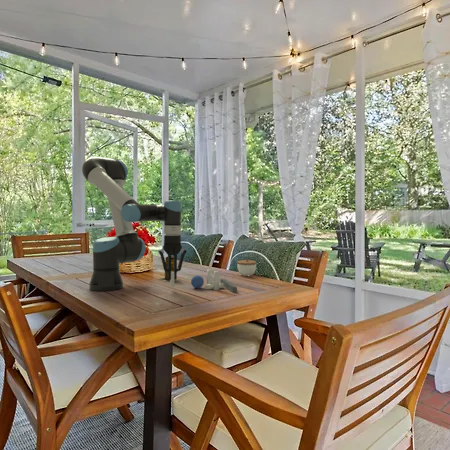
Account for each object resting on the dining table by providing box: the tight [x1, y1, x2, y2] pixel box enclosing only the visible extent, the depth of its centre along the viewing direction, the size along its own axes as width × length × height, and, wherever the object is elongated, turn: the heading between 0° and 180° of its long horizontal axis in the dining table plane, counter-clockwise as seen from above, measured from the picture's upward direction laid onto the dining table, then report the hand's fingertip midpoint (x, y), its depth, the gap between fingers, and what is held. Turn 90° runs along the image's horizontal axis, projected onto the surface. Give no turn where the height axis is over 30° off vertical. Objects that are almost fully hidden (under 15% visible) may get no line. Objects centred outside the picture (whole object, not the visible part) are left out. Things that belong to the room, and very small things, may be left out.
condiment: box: [159, 255, 180, 282], centre depth 197 cm, size 7×8×12 cm
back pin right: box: [213, 270, 220, 291], centre depth 174 cm, size 2×2×8 cm
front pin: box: [204, 282, 225, 290], centre depth 176 cm, size 2×2×8 cm
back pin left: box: [206, 269, 213, 284], centre depth 178 cm, size 2×2×8 cm
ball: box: [190, 275, 205, 289], centre depth 177 cm, size 6×6×6 cm
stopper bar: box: [220, 278, 238, 294], centre depth 178 cm, size 2×20×2 cm, turn 16°
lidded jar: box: [237, 258, 257, 277], centre depth 211 cm, size 11×11×9 cm
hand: (172, 286), depth 171 cm, fingers closed
